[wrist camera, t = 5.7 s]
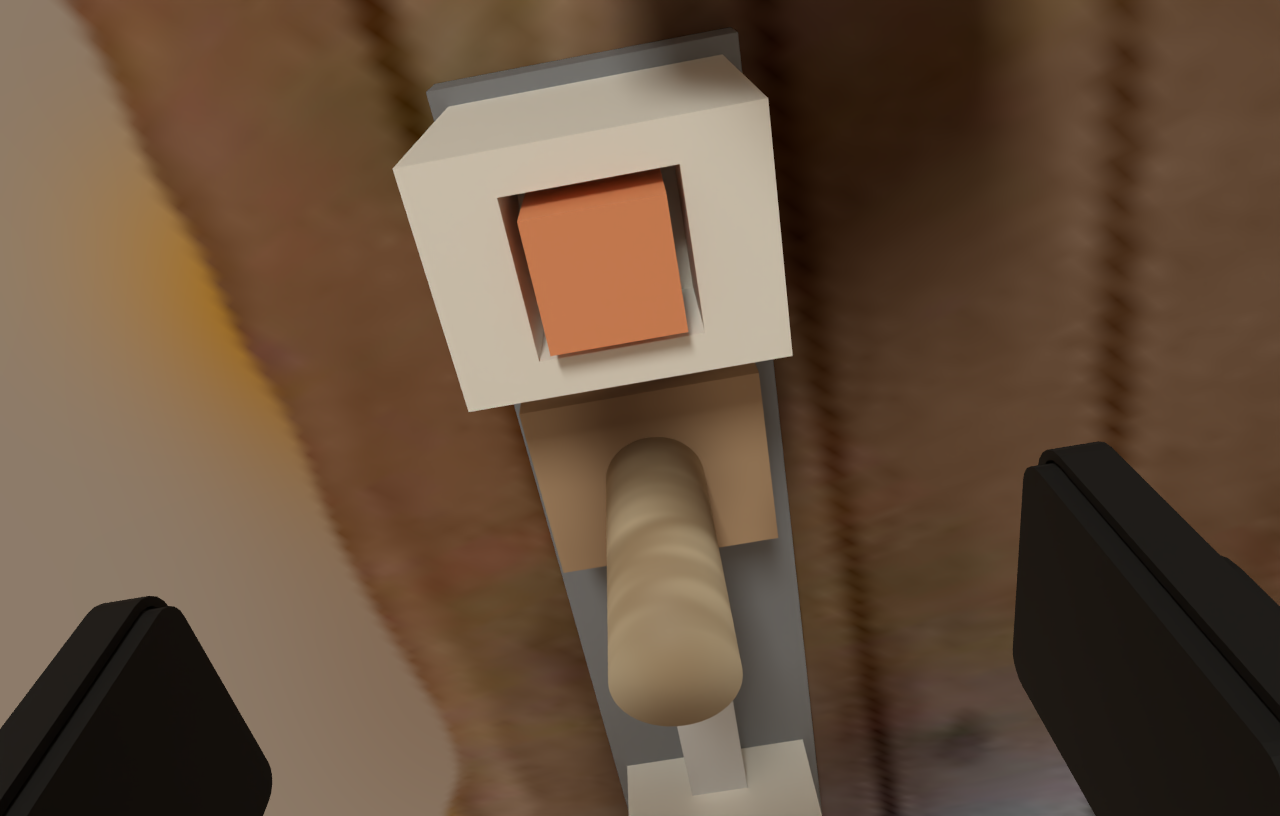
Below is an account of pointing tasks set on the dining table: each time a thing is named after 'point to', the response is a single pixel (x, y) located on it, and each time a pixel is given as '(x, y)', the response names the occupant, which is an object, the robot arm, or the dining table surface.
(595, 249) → the block
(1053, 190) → the dining table surface
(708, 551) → the carriage
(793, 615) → the rail base
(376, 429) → the dining table surface
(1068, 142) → the dining table surface
